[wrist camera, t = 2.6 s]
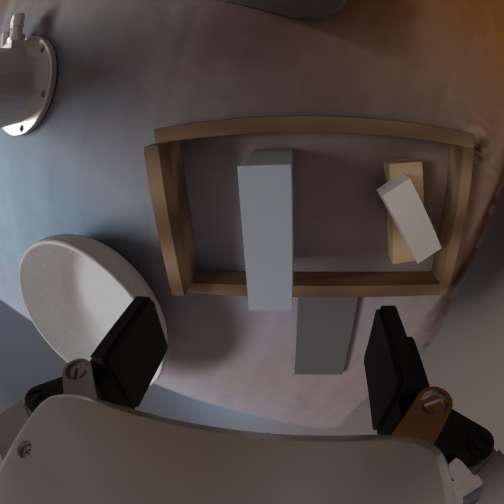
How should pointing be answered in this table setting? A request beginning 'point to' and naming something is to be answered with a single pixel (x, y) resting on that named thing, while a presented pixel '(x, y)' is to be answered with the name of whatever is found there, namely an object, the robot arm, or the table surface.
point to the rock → (296, 7)
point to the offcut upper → (410, 216)
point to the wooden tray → (304, 283)
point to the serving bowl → (79, 293)
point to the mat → (324, 334)
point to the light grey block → (268, 227)
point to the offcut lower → (396, 243)
